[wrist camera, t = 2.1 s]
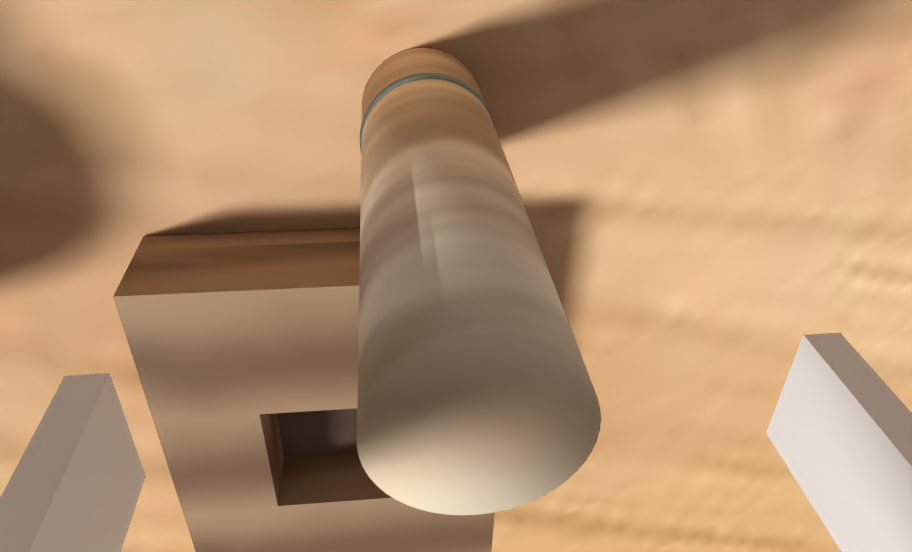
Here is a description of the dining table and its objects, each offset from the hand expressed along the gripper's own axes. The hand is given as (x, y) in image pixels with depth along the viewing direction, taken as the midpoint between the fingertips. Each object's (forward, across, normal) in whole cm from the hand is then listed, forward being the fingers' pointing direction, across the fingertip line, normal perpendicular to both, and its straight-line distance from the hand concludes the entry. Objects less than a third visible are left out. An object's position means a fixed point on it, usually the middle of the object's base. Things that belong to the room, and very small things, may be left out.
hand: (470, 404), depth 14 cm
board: (+15, -4, -14) cm, 21 cm away
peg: (+15, 0, 0) cm, 15 cm away
